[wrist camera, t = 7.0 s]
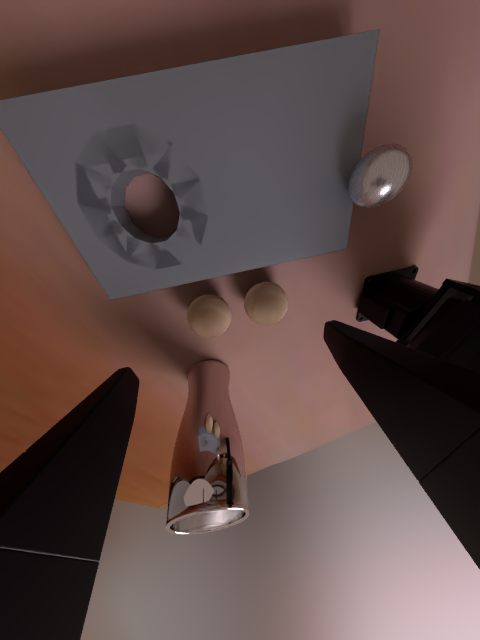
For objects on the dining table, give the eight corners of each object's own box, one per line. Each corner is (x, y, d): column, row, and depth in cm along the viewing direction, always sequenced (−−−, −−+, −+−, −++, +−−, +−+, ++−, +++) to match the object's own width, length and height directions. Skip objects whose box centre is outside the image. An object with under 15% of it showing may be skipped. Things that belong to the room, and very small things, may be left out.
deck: (351, 58, 12) (379, 29, 10) (331, 243, 19) (346, 248, 17) (23, 120, 12) (-16, 103, 10) (121, 288, 19) (110, 300, 16)
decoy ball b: (224, 283, 20) (228, 302, 16) (232, 317, 22) (237, 341, 19) (183, 292, 20) (177, 313, 16) (196, 325, 22) (193, 351, 18)
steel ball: (438, 132, 11) (383, 136, 10) (414, 204, 12) (367, 210, 12) (386, 150, 14) (342, 154, 13) (373, 206, 15) (334, 211, 15)
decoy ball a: (278, 271, 20) (294, 287, 16) (280, 307, 22) (294, 328, 19) (238, 280, 20) (245, 298, 16) (244, 315, 22) (251, 338, 19)
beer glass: (173, 372, 26) (140, 533, 13) (214, 349, 25) (219, 501, 12) (204, 395, 29) (201, 538, 17) (241, 375, 28) (266, 514, 16)
